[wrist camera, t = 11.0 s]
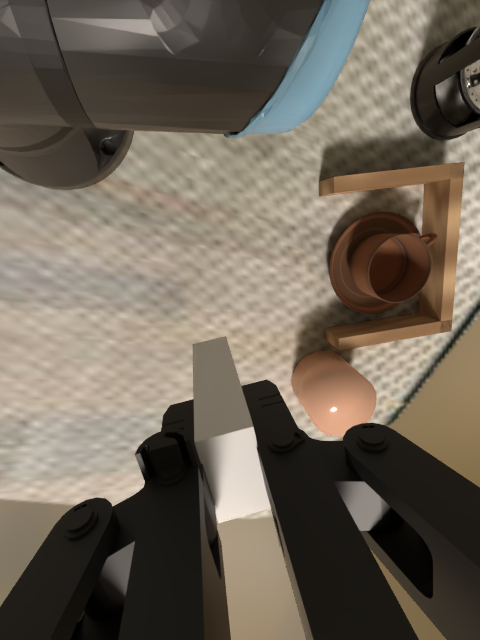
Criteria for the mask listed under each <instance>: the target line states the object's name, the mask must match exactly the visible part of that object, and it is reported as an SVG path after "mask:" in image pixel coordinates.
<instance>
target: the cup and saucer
mask: <svg viewBox="0 0 480 640" xmlns="http://www.w3.org/2000/svg"><path fill="white" fill-rule="evenodd" d="M437 237H438V236H437V234H435V233H429V234H425V235H422V236H421V235H420V233H419V231H418V230H417V228H416V227H415V226H414V224H413V223H412V222H411V221H409V220H408V219H407V218H405V217H403V216H401V215H399V214H396V213H392V212H376V213H372V214H369V215H366V216H364V217H362V218H360V219H358V220H356V221H355V222H354V223H352V224H351V225H350V226H349V227H348V228H347V229H346V230H345V231H344V232H343V233H342V234H341V236H340V237H339V239H338V240H337V242H336V244H335V246H334V249H333V251H332V254H331V258H330V267H329V272H330V280H331V284H332V287H333V289H334V291H335V293H336V295H337V296H338V297H339V299H340V300H341V301H342V302H343V303H344V304H345V305H346V306H348V307H349V308H351V309H353V310H355V311H357V312H361V313H366V314H376V313H381V312H385V311H388V310H390V309H392V308H394V307H396V306H397V305H399V304H400V303H402V302H404V301H407V300H409V299H411V298H413V297H414V296H415V295H417V294H418V293H419V292H420V291H421V290H422V289H423V287H424V286H425V285H426V283H427V281H428V279H429V277H430V274H431V269H432V256H431V252H430V250H429V246H430V245H431V244H433V243H434V242H435V241H436V240H437ZM428 238H431V239H430V240H429V241H427V242H426V243H425V242H424V241H423V240H424V239H428Z"/></svg>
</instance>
